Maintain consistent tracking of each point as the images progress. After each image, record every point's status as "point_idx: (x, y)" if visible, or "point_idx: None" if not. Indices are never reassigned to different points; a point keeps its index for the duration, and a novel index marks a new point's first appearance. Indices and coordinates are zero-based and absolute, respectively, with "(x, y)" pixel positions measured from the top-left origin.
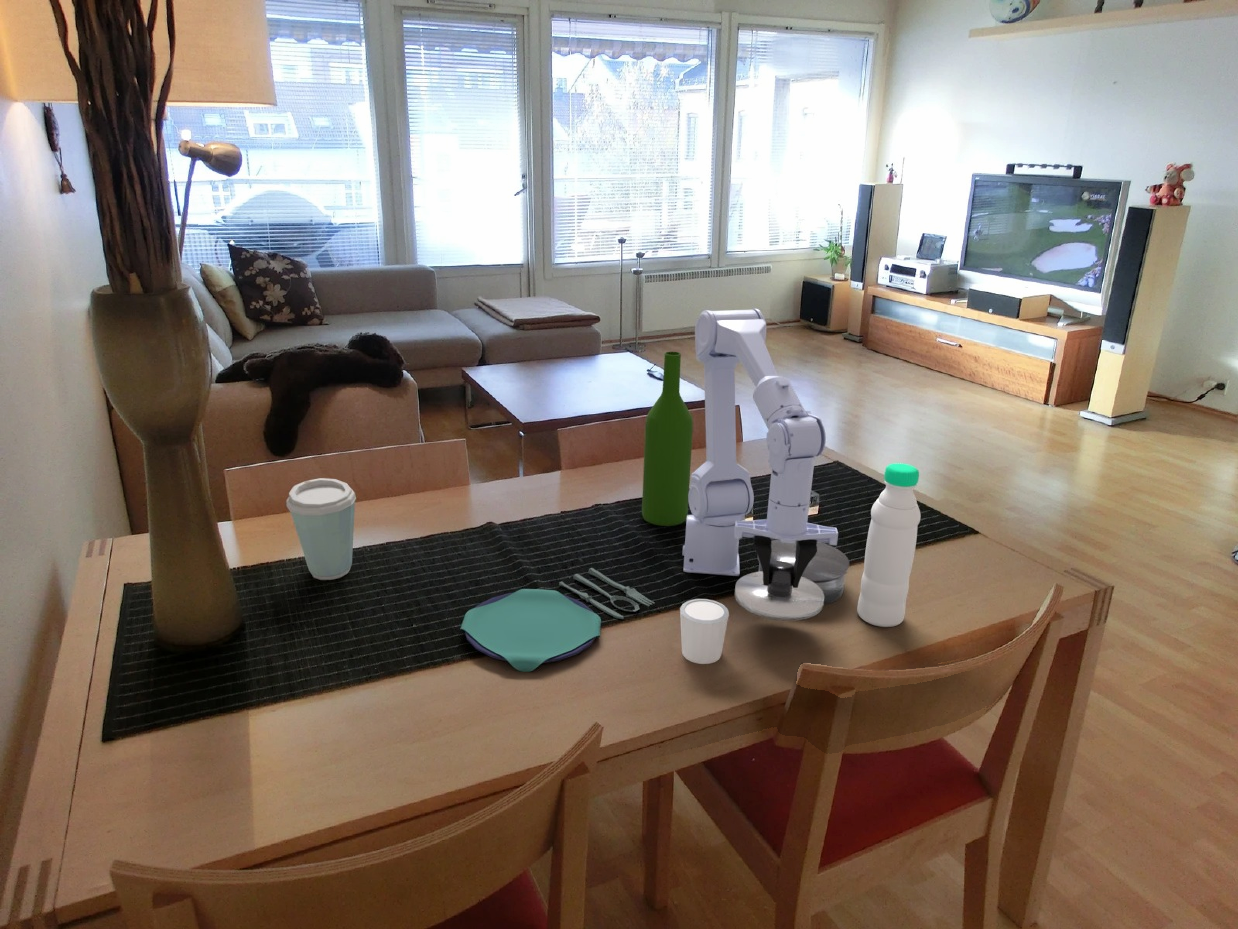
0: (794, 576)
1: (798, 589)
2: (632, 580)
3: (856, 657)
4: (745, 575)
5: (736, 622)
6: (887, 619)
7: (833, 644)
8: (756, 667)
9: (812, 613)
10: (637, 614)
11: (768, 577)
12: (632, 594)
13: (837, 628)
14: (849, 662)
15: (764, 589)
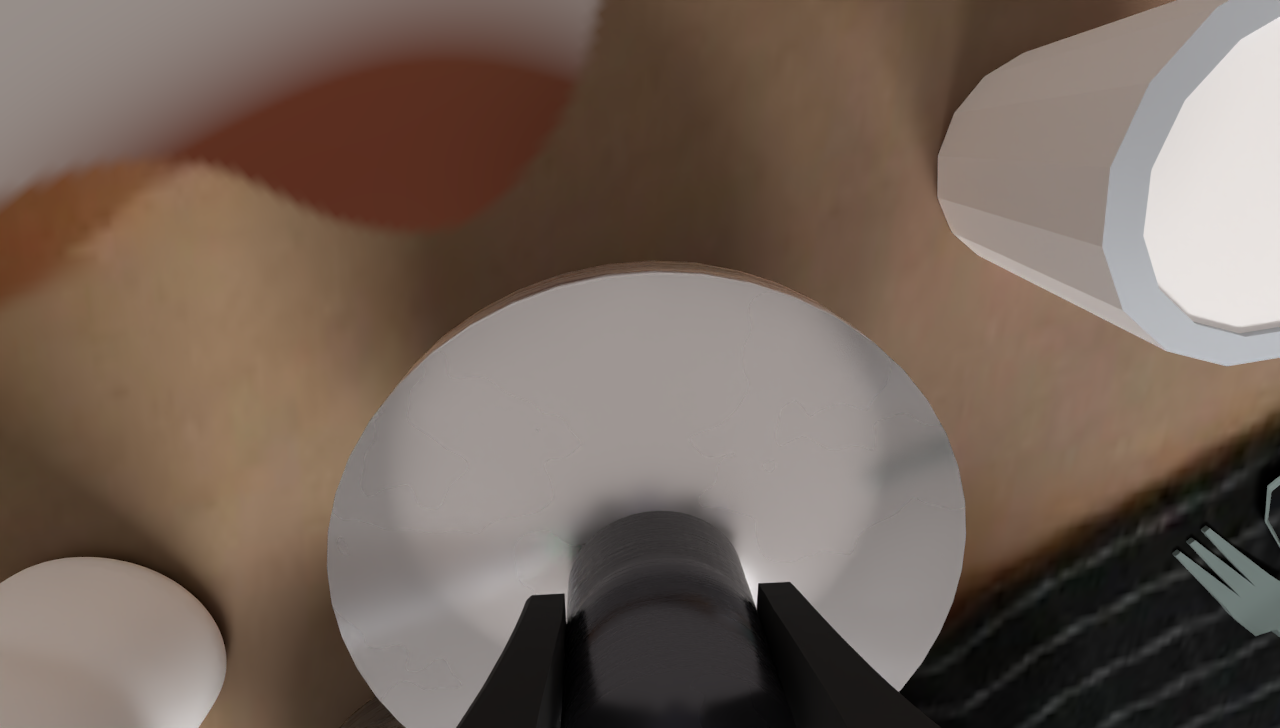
0: (556, 677)
1: None
2: (1225, 701)
3: (207, 257)
4: None
5: None
6: (30, 583)
7: (338, 362)
8: (761, 59)
9: (416, 363)
10: (1272, 453)
11: (792, 626)
12: (1266, 595)
13: (324, 508)
14: (242, 199)
15: None
